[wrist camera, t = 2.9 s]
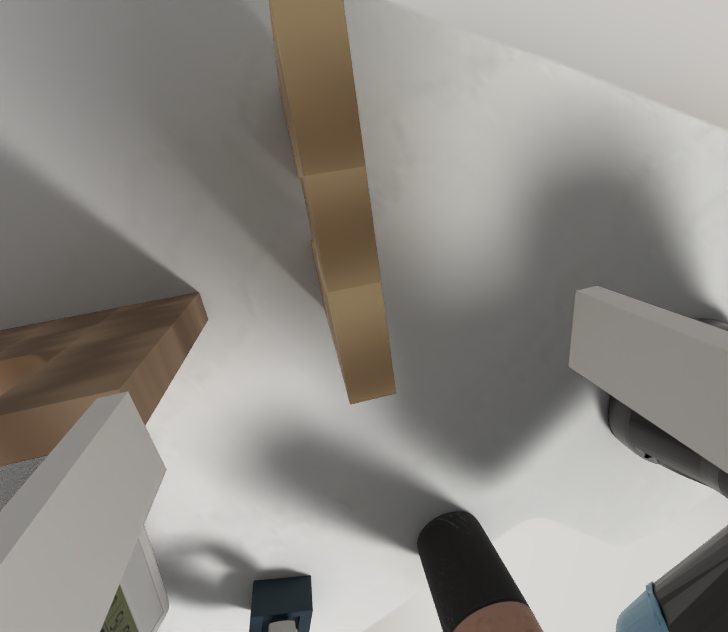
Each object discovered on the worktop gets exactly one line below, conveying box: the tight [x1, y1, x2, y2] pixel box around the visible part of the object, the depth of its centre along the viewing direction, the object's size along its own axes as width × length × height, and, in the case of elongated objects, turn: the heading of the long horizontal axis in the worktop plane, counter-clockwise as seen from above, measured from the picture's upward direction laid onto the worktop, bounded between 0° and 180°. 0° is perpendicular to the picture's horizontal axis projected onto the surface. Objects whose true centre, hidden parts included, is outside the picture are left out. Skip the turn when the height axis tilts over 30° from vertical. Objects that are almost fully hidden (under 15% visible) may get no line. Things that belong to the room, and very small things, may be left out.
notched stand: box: [0, 292, 208, 466], centre depth 18 cm, size 14×2×12 cm, turn 98°
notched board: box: [269, 0, 396, 404], centre depth 18 cm, size 14×2×12 cm, turn 8°
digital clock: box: [100, 526, 169, 632], centre depth 25 cm, size 16×9×11 cm, turn 169°
